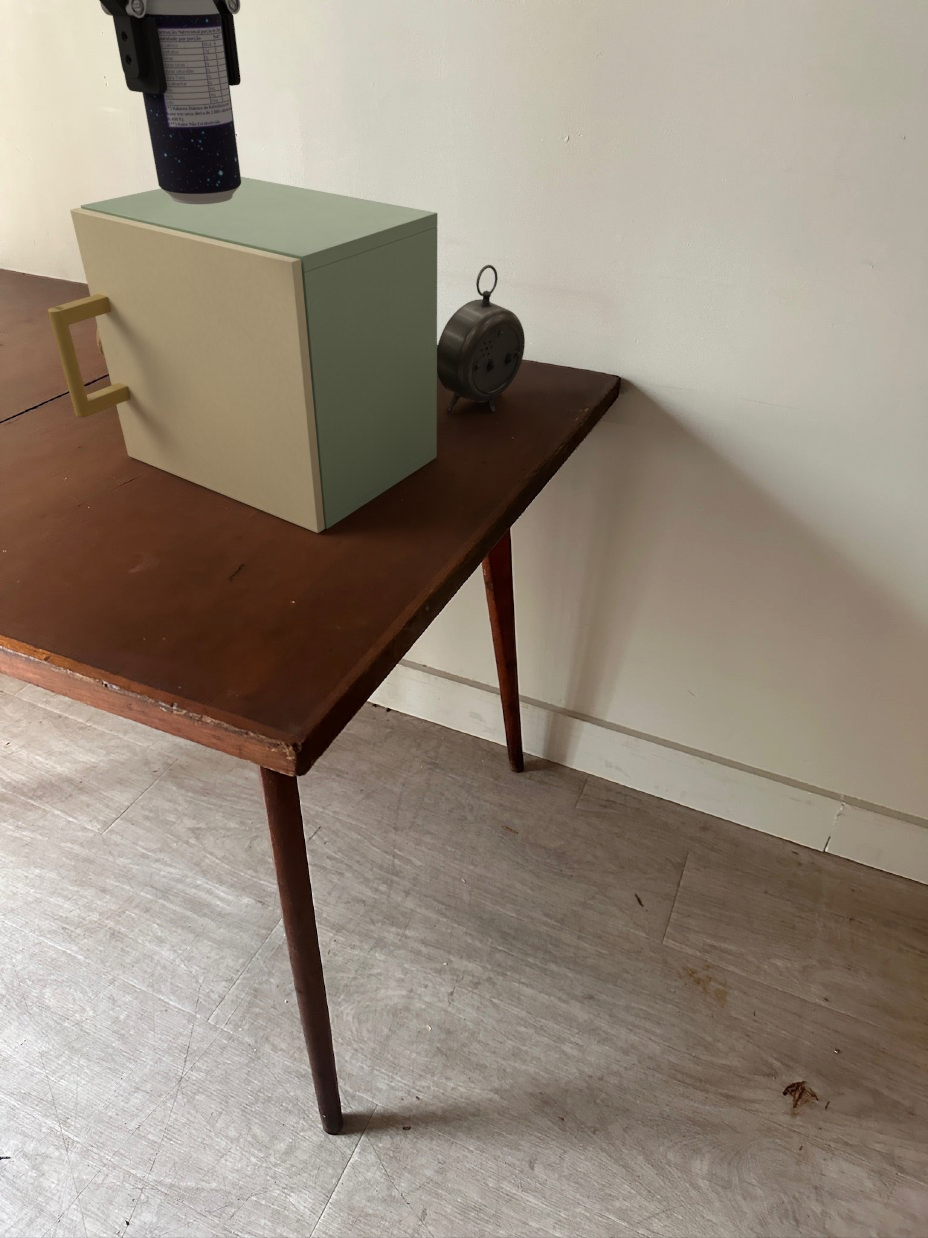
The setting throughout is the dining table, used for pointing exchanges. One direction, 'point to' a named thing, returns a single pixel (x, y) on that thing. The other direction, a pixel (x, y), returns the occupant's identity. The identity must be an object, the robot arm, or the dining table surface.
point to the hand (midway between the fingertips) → (185, 84)
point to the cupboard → (341, 319)
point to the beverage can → (193, 105)
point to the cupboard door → (200, 360)
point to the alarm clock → (480, 349)
